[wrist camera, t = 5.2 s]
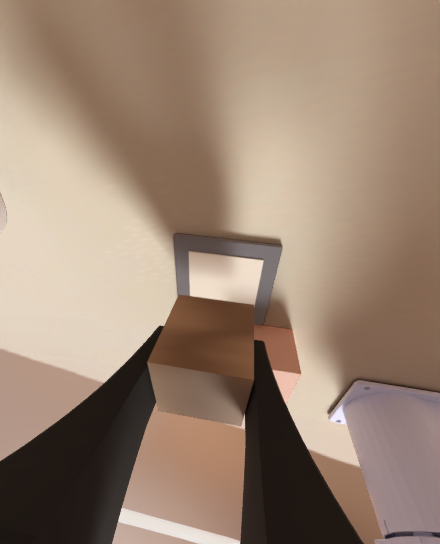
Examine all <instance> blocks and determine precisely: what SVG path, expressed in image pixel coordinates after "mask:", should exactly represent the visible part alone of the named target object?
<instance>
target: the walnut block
mask: <svg viewBox="0 0 440 544" xmlns="http://www.w3.org/2000/svg"><path fill="white" fill-rule="evenodd" d="M147 364H148V368H149V372H150V377H151V381H152V385H153V390H154V394H155V398H156V403H157V407H158V411H161V412H167V413H173V414H177V415H183V416H189V417H194V418H199V419H205V420H210V421H215V422H221V423H226V424H232V425H237V426H241V425H242V421H243V418H244V414H245V410H246V407H247V403H248V400H249V396H250V392H251V389H252V385H253V382H254V305H252V304H244V303H237V302H230V301H223V300H215V299H208V298H201V297H193V296H186V295H179V296H178V298H177V300H176V302H175V304H174V306H173V308H172V310H171V313H170V315H169V317H168V319H167V321H166V323H165V325H164V327H163V330H162V332H161V334H160V336H159V338H158V340H157V342H156V344H155V347H154V349H153V351H152V353H151V355H150V357H149V359H148V361H147Z"/></svg>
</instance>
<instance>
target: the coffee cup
mask: <svg viewBox="0 0 440 544" xmlns="http://www.w3.org/2000/svg"><path fill="white" fill-rule="evenodd" d="M6 222H7V213H6V208H5V204H4V202H3V199H2V197H1V195H0V232H1V231H2V230H3V229H4V228H5V225H6Z"/></svg>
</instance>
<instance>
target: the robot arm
mask: <svg viewBox="0 0 440 544" xmlns="http://www.w3.org/2000/svg"><path fill="white" fill-rule="evenodd" d="M163 327H164V326H159V327H158V328H157V329H156V330H155V331H154V333H153V334H152V335H151V336H150V337H149V338H148V339H147V341H146V342H145V343H144V344H143V345H142V346H141V347H140V348H139V349H138V350H137V351H136V353H135V354H134V355H133V356H132V357H131V358H130V359H129V360H128V361H127V362H126V363H125V364H124V365H123V366H122V367H121V368H120V369H119V370H118V371H117V372H116V373H115V374H114V375H112V376H111V377H110V378H109V379H108V380H107V381H106V382H105V383H104V384H103V385H102V386H101V387H100V388H98V389H97V390H96V391H95V392H94V393H92V394H91V395H90V396H89V397H88V398H87V399H85V400H84V401H83V402H82V403H80V404H79V405H78V406H77V407H75V408H74V409H73V410H72V411H70V412H69V413H68V414H67V415H65V416H64V417H63V418H61V419H60V420H59V421H57V422H56V423H55V424H53V425H52V426H51V427H49V428H48V429H46V430H45V431H44V432H42V433H41V434H39V435H38V436H37V437H35V438H34V439H33V440H31V441H30V442H28V443H27V444H25V445H24V446H23V447H21V448H20V449H18V450H17V451H15V452H14V453H12V454H11V455H9V456H8V457H6V458H5V459H3V460H1V461H0V544H112V541H113V537H114V533H115V530H116V526H117V523H118V519H119V515H120V512H121V508H122V505H123V501H124V497H125V494H126V491H127V487H128V484H129V480H130V477H131V474H132V470H133V467H134V464H135V461H136V457H137V454H138V451H139V448H140V445H141V441H142V438H143V435H144V432H145V429H146V426H147V423H148V421H149V418H150V416H151V413H152V411H153V408H154V406H155V404H156V398H155V394H154V390H153V385H152V381H151V377H150V372H149V368H148V364H147V361H148V359H149V357H150V355H151V353H152V351H153V349H154V347H155V344H156V342H157V340H158V338H159V336H160V334H161V332H162V330H163ZM328 418H329V421H331V422H335V423H340V424H346V425H347V426H348V429H349V432H350V436H351V439H352V442H353V445H354V448H355V451H356V454H357V457H358V461H359V464H360V467H361V470H362V473H363V476H364V479H365V482H366V486H367V488H368V492H369V495H370V498H371V501H372V504H373V507H374V511H375V514H376V517H377V520H378V523H379V526H380V529H381V532H382V536H383V539H381V540H379V539H375V544H440V393H437V392H431V391H425V390H418V389H412V388H406V387H399V386H393V385H387V384H381V383H374V382H368V381H362V380H359V381H356V382H354V384H353V385H352V386H351V388H350V389H349V390H348V391H347V393H346V394H345V395H344V397H343V398H342V399H341V400H340V402H339V403H338V404H337V406H336V407H335V408H334V409H333V411H332V412H331V413H330V415H329V416H328ZM245 433H246V448H245V470H244V490H243V491H244V492H243V508H242V509H243V510H242V526H241V543H240V544H364V543H363V542H362V540H361V539H360V537H359V536H358V534H357V532H356V531H355V529H354V528H353V526H352V525H351V523H350V521H349V520H348V518H347V517H346V515H345V513H344V512H343V510H342V508H341V507H340V505H339V503H338V502H337V500H336V499H335V497H334V495H333V494H332V492H331V490H330V488H329V487H328V485H327V483H326V481H325V480H324V478H323V476H322V474H321V473H320V471H319V469H318V467H317V466H316V464H315V462H314V460H313V459H312V457H311V455H310V453H309V451H308V449H307V447H306V445H305V443H304V442H303V440H302V438H301V436H300V434H299V432H298V430H297V428H296V426H295V423H294V421H293V419H292V417H291V415H290V413H289V410H288V408H287V406H286V404H285V401H284V399H283V397H282V394H281V392H280V389H279V386H278V384H277V381H276V379H275V376H274V373H273V370H272V367H271V364H270V361H269V358H268V354H267V350H266V346H265V342H264V341H261V340H254V382H253V385H252V389H251V392H250V396H249V400H248V403H247V407H246V410H245Z"/></svg>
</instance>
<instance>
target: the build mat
mask: <svg viewBox="0 0 440 544" xmlns="http://www.w3.org/2000/svg"><path fill="white" fill-rule="evenodd" d="M174 249H175V262H176V276H177V290H178V296H179V295H186V296H193V297H201V298H208V299H215V300H223V301H230V302H237V303H244V304H252V305H254V324H258V325H263V324H264V320H265V316H266V312H267V308H268V304H269V300H270V296H271V292H272V288H273V284H274V280H275V276H276V272H277V268H278V264H279V260H280V256H281V252H282V245H277V244H268V243H259V242H250V241H241V240H232V239H223V238H214V237H205V236H196V235H187V234H178V233H175V234H174Z"/></svg>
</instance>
